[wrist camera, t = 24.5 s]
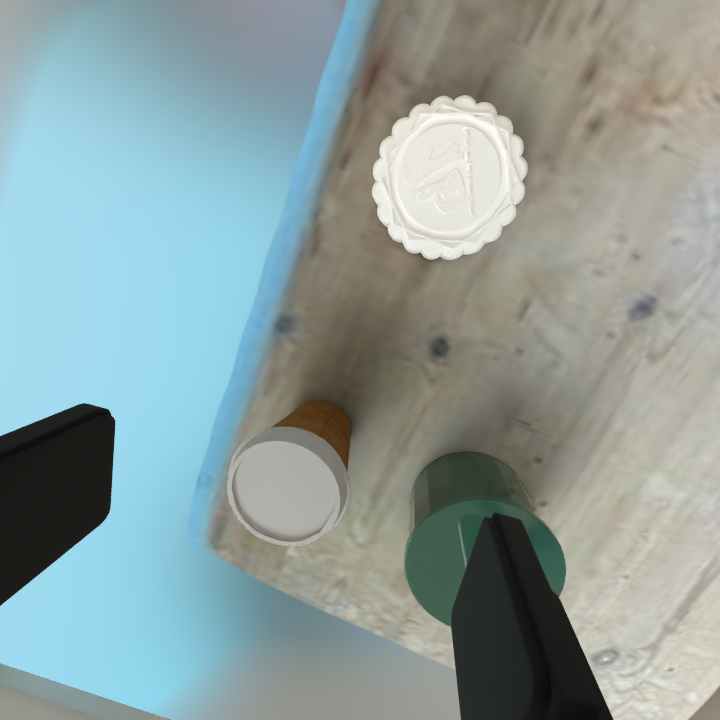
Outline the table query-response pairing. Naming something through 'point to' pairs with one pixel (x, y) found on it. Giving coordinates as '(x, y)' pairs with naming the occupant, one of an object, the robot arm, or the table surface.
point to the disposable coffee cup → (293, 476)
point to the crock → (465, 483)
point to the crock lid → (467, 550)
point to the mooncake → (449, 177)
